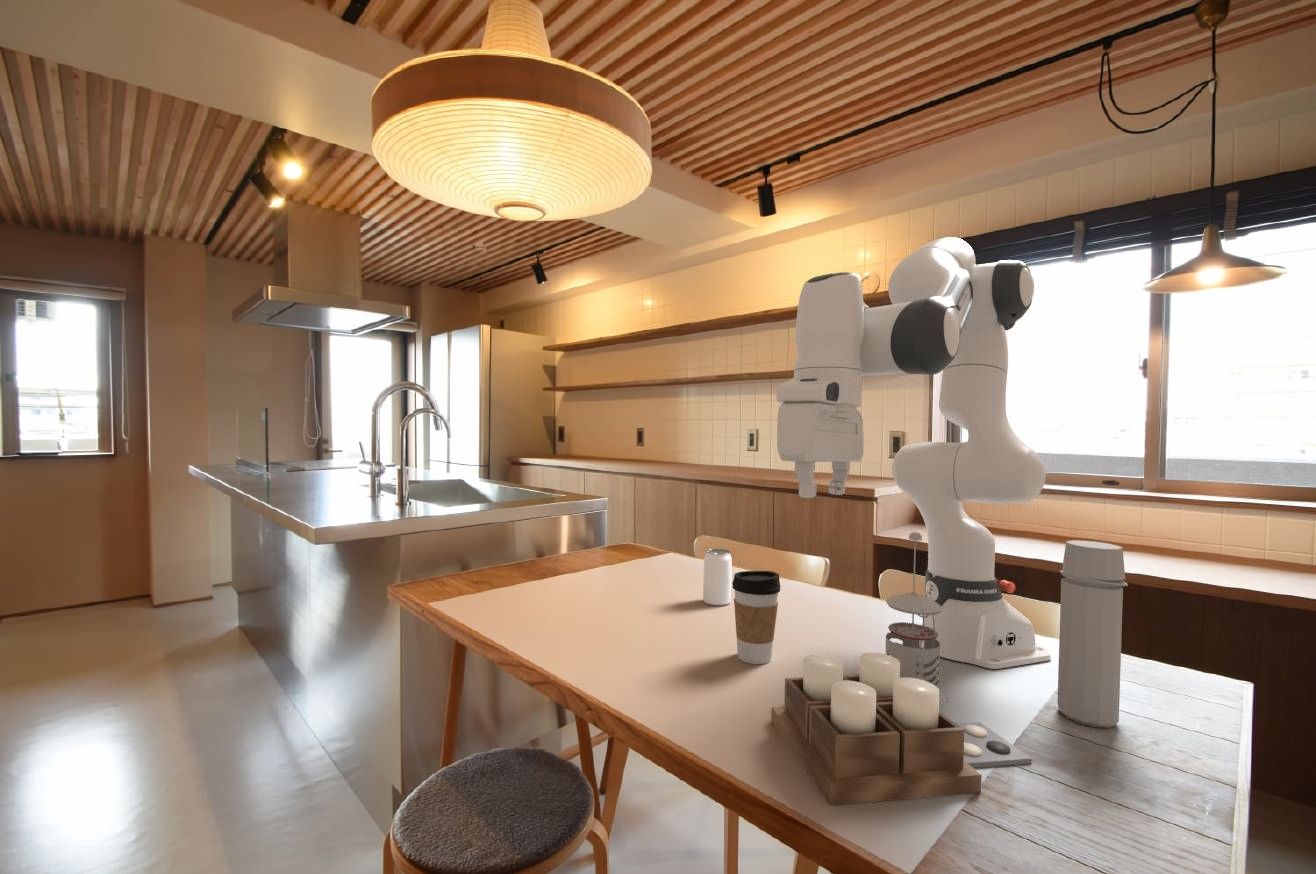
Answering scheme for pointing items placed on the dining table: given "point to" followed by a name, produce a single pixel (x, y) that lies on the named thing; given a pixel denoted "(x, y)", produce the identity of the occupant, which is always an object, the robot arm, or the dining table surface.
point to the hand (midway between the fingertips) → (822, 495)
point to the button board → (873, 753)
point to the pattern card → (989, 747)
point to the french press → (915, 635)
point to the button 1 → (820, 676)
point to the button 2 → (853, 707)
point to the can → (717, 577)
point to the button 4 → (915, 704)
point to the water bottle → (1091, 632)
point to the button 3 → (879, 672)
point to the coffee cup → (755, 614)
